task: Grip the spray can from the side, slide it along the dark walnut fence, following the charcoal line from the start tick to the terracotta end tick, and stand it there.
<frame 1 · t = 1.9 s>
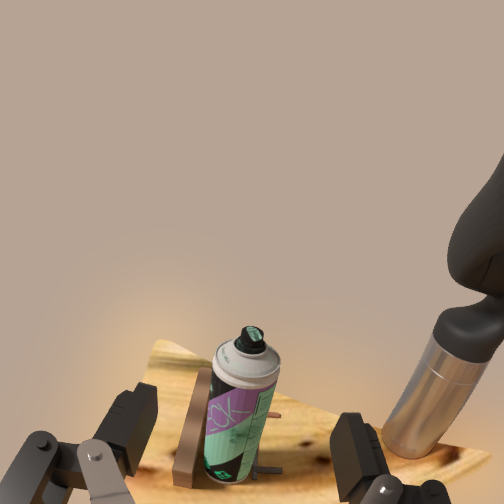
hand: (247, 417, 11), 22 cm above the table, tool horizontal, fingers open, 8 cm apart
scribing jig: (232, 411, 37), on the table
spray can: (226, 467, 28), on the table
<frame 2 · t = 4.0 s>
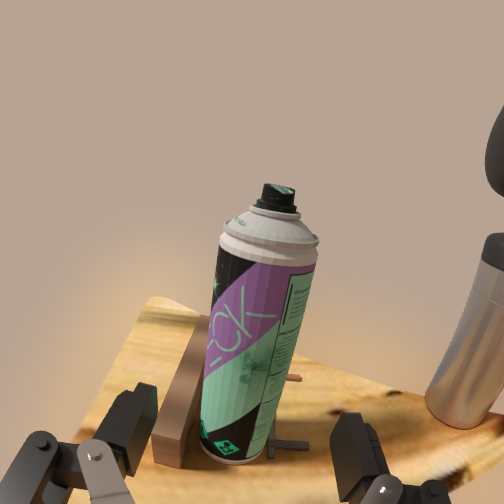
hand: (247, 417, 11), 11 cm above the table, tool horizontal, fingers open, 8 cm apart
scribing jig: (240, 371, 31), on the table
spray can: (231, 441, 21), on the table
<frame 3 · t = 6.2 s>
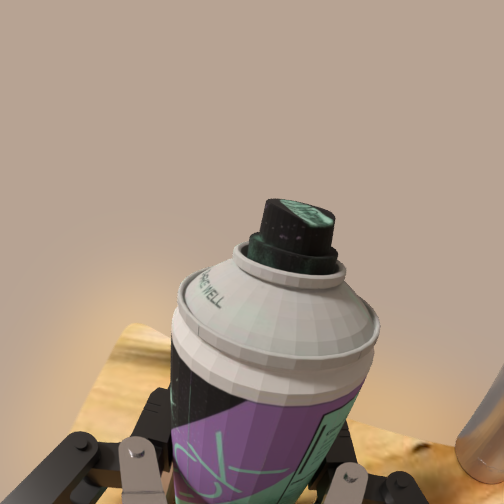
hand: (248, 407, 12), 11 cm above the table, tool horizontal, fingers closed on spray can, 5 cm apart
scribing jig: (234, 432, 22), on the table
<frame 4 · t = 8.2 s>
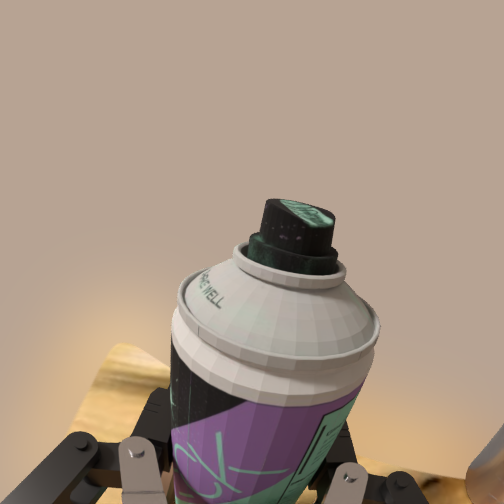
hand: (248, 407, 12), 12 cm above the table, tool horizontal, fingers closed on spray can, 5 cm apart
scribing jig: (227, 474, 18), on the table
when the fingers open (11 cm above the table, at t = 10.6 s): spray can stays where it is, on the table.
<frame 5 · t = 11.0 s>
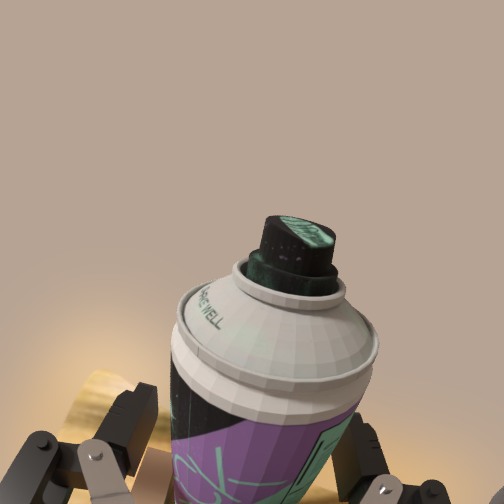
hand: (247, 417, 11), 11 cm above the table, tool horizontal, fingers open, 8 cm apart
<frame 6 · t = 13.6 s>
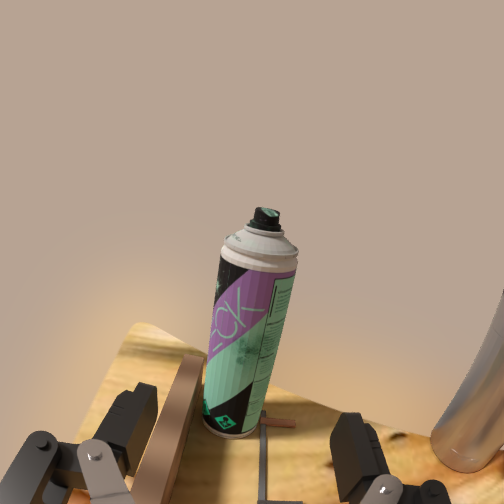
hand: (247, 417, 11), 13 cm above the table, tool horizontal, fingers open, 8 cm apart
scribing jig: (229, 417, 26), on the table
spray can: (229, 419, 26), on the table
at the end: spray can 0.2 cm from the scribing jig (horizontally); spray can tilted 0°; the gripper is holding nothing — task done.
